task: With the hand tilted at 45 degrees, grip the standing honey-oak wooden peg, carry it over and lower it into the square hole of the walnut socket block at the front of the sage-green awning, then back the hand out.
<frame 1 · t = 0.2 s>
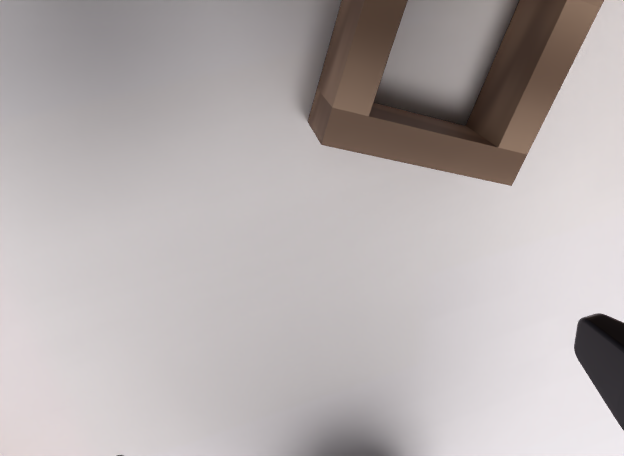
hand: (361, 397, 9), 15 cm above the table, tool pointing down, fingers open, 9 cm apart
socket stand: (434, 44, 21), on the table
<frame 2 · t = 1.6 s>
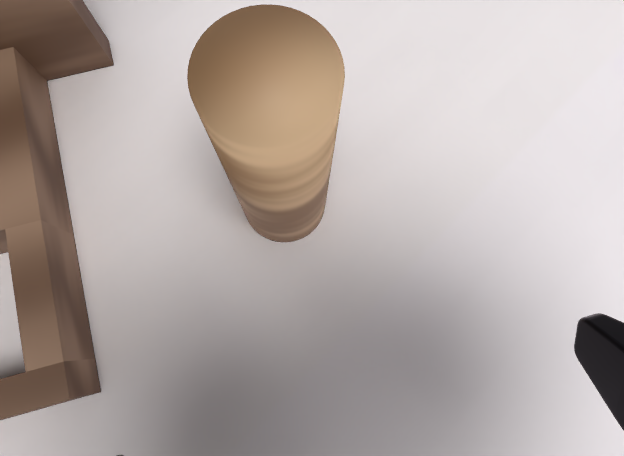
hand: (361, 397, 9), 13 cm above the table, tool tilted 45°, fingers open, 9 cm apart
peg: (284, 202, 24), on the table
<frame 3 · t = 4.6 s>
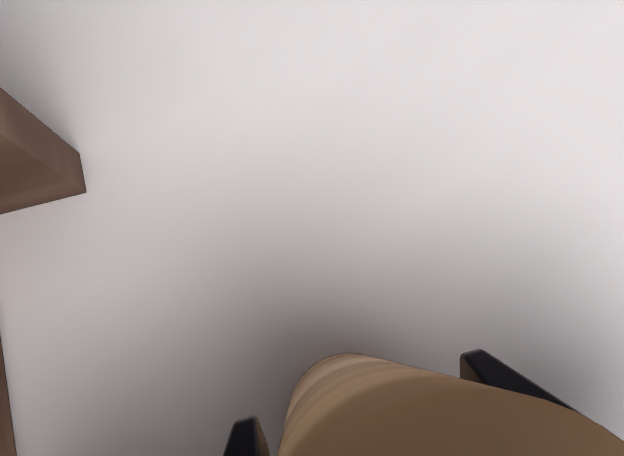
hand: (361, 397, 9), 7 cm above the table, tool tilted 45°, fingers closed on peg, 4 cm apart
peg: (350, 418, 15), on the table, touching gripper
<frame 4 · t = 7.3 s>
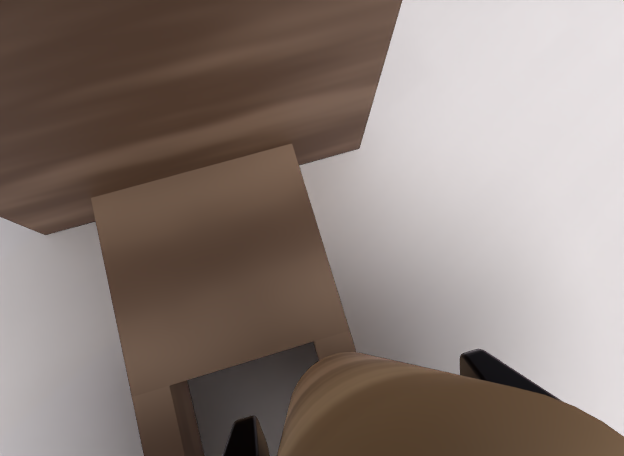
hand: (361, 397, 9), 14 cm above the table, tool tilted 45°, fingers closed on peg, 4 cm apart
peg: (351, 417, 15), point 7 cm above the table, touching gripper
socket stand: (268, 426, 22), on the table
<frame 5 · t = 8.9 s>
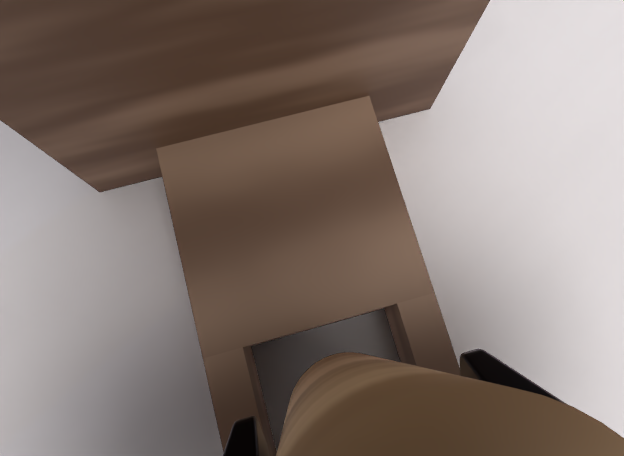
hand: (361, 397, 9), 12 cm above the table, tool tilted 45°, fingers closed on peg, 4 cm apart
peg: (350, 417, 15), point 5 cm above the table, touching gripper
socket stand: (337, 397, 21), on the table
when the fingers open (8 cm above the table, at t = 10.3 s): peg drops 1 cm, resting in socket stand.
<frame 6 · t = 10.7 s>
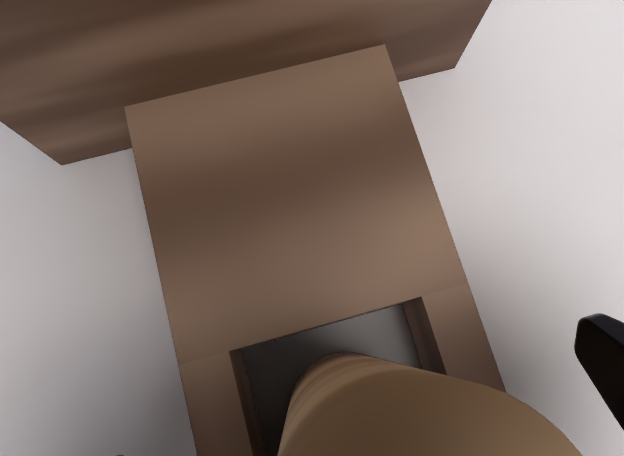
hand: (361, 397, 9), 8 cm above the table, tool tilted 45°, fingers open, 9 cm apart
peg: (346, 411, 17), resting in socket stand
socket stand: (346, 411, 17), on the table
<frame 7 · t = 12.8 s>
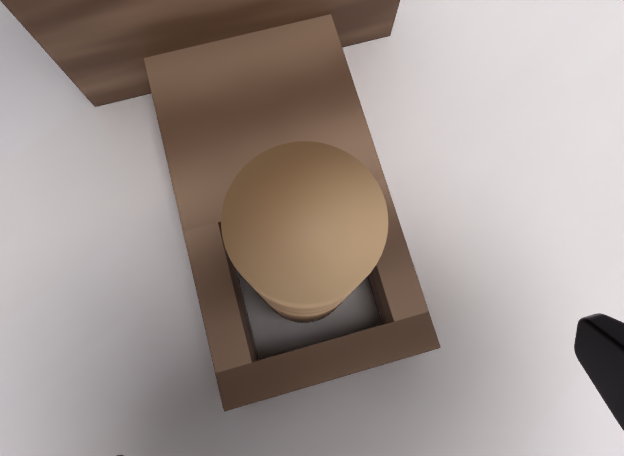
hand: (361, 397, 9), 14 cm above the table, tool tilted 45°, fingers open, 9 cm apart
peg: (304, 280, 23), resting in socket stand
socket stand: (304, 279, 23), on the table
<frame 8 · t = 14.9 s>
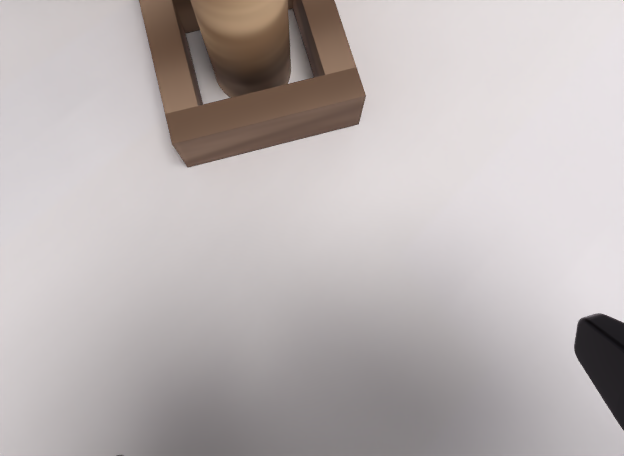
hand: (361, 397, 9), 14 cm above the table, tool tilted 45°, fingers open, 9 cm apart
peg: (253, 69, 26), resting in socket stand
socket stand: (252, 68, 26), on the table
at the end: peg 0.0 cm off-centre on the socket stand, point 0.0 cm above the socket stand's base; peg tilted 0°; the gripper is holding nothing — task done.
